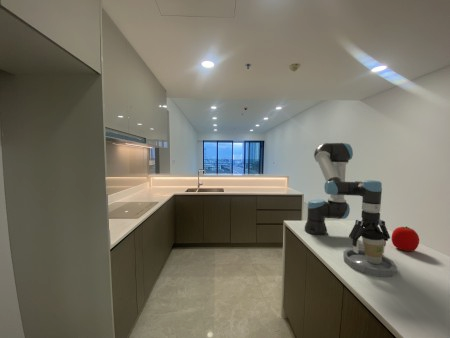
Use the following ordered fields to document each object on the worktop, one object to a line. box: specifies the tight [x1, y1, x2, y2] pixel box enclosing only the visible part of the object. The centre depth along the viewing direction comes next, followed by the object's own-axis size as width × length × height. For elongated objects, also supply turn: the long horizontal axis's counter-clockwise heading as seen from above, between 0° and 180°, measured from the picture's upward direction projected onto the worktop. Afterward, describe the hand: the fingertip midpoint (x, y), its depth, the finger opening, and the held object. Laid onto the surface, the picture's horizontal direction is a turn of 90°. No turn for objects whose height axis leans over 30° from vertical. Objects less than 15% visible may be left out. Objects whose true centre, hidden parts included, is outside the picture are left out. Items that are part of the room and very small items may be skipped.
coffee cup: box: [361, 229, 385, 264], centre depth 101 cm, size 10×10×15 cm
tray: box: [342, 248, 398, 278], centre depth 102 cm, size 21×21×3 cm
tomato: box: [390, 226, 420, 252], centre depth 118 cm, size 13×11×14 cm
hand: (368, 252), depth 101 cm, fingers open, 13 cm apart
